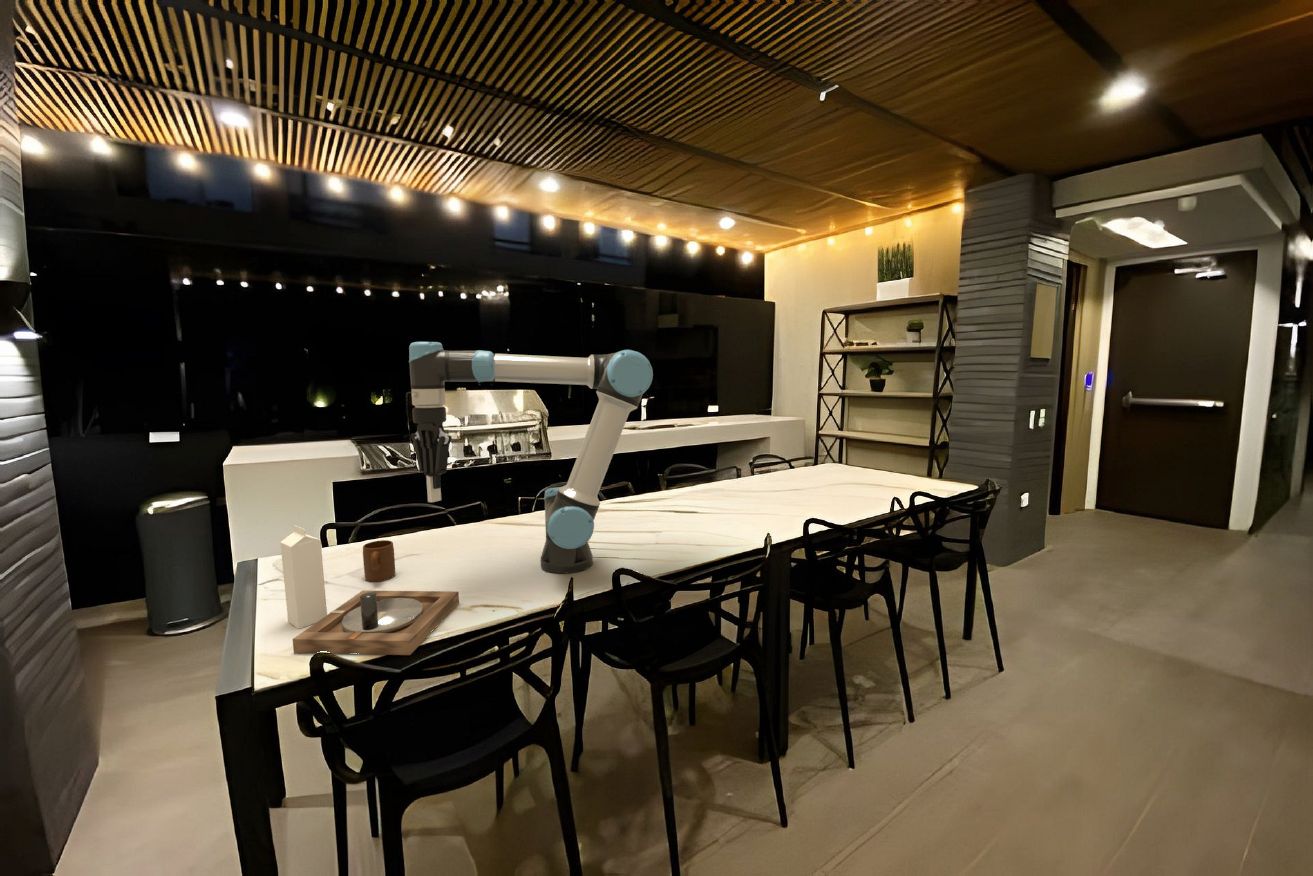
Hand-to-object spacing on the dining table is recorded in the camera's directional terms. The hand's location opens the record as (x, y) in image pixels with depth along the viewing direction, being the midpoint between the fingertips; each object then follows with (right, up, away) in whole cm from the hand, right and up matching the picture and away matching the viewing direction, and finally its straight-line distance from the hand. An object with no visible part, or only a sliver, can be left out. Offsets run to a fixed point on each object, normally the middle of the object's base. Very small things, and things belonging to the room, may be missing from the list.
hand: (434, 500), depth 132 cm
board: (-6, -26, -14) cm, 30 cm away
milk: (-24, -26, -11) cm, 38 cm away
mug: (-21, -23, +13) cm, 34 cm away
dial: (-6, -25, -14) cm, 29 cm away
